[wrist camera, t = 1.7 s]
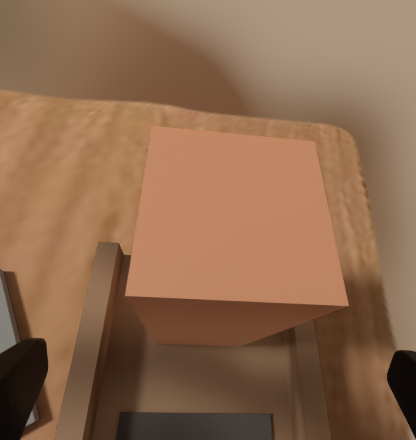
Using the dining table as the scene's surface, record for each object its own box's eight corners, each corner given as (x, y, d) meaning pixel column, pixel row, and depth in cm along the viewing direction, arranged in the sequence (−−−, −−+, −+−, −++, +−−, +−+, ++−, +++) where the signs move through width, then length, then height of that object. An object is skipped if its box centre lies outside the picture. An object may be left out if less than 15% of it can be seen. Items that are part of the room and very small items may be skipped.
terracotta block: (240, 346, 17) (348, 306, 6) (155, 344, 17) (125, 295, 6) (237, 266, 19) (314, 141, 9) (164, 262, 19) (151, 125, 8)
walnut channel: (324, 544, 14) (354, 578, 11) (45, 552, 13) (17, 591, 10) (290, 267, 20) (305, 254, 18) (105, 256, 19) (96, 241, 17)
